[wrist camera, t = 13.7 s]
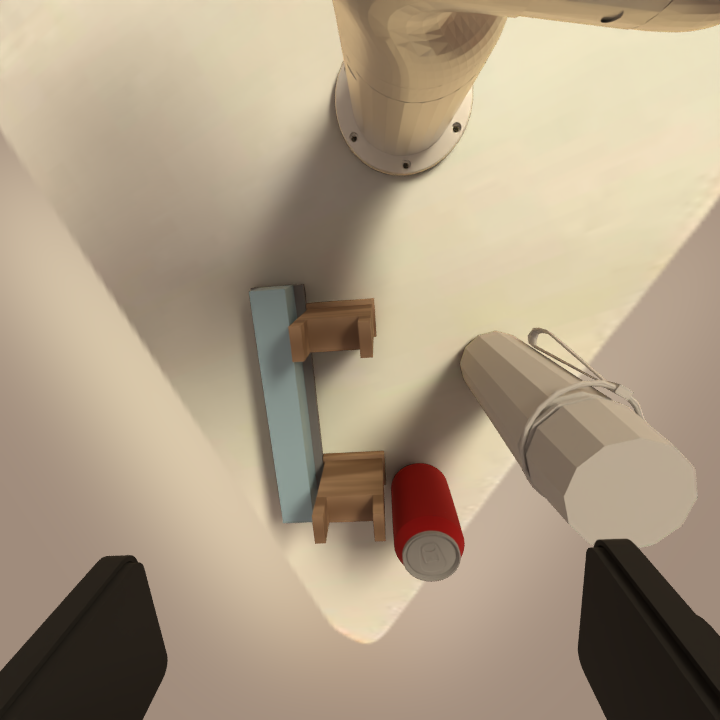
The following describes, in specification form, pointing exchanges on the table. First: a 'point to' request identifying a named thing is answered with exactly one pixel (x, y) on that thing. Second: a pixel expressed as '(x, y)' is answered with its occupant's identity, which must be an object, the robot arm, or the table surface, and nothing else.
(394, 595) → the table surface
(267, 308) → the rail
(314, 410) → the mat
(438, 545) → the beverage can
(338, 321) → the post
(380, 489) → the post
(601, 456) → the water bottle
